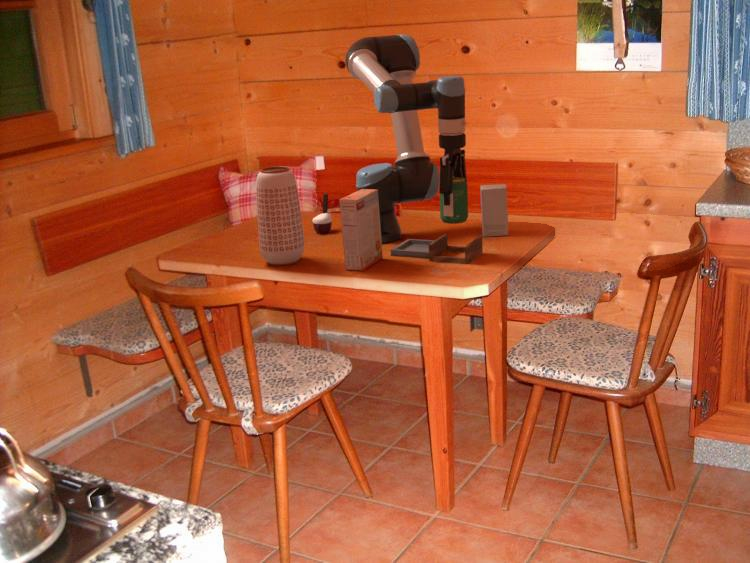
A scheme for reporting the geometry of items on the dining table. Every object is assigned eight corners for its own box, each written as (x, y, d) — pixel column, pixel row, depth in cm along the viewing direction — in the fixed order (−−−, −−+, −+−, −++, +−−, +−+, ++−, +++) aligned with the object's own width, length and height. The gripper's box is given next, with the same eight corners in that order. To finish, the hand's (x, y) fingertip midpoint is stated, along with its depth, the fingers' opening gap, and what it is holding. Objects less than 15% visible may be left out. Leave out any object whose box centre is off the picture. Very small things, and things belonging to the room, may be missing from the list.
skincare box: (507, 231, 276) (506, 183, 271) (508, 236, 270) (507, 187, 265) (481, 232, 277) (480, 184, 272) (481, 237, 271) (480, 188, 266)
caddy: (429, 261, 249) (428, 244, 247) (444, 250, 259) (444, 234, 257) (468, 264, 243) (467, 247, 242) (482, 252, 254) (482, 236, 252)
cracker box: (365, 256, 257) (360, 188, 251) (383, 258, 255) (379, 188, 248) (343, 270, 245) (338, 198, 239) (362, 271, 243) (357, 199, 237)
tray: (390, 255, 257) (390, 249, 256) (408, 244, 268) (408, 238, 267) (431, 258, 251) (430, 252, 251) (447, 247, 262) (447, 241, 262)
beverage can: (469, 217, 251) (468, 176, 247) (466, 224, 244) (465, 182, 240) (442, 217, 253) (441, 176, 249) (438, 224, 246) (437, 183, 242)
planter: (274, 254, 266) (265, 164, 258) (313, 256, 261) (305, 164, 252) (253, 266, 254) (243, 172, 246) (293, 269, 249) (284, 173, 241)
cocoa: (321, 237, 285) (317, 202, 281) (307, 234, 289) (304, 199, 285) (340, 229, 292) (337, 195, 287) (327, 226, 296) (324, 193, 291)
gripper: (451, 140, 230) (453, 222, 237) (477, 127, 247) (478, 204, 255) (425, 139, 233) (428, 220, 241) (453, 126, 251) (454, 202, 258)
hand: (454, 212), depth 248 cm, fingers closed on beverage can, 8 cm apart
